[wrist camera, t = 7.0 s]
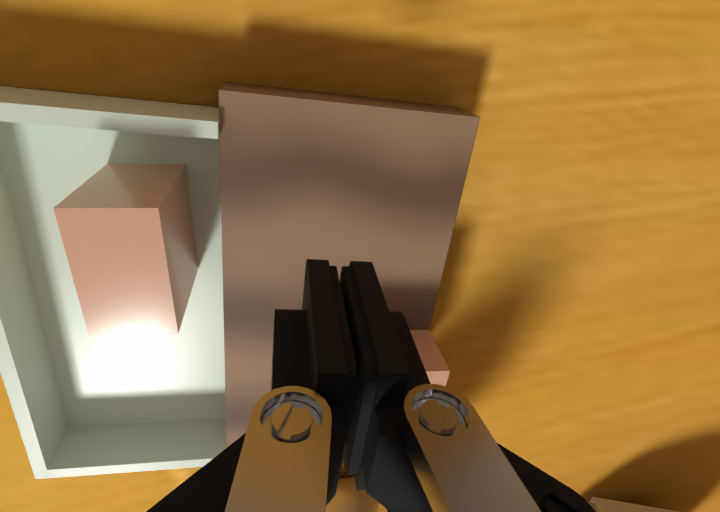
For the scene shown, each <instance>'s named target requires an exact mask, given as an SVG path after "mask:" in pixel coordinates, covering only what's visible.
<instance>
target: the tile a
mask: <svg viewBox="0 0 720 512" xmlns="http://www.w3.org/2000/svg"><path fill="white" fill-rule="evenodd" d="M53 209H54V213H55V216H56V220H57V224H58V227H59V231H60V234H61V238H62V241H63V245H64V249H65V252H66V256H67V259H68V263H69V267H70V270H71V274H72V277H73V281H74V285H75V288H76V292H77V295H78V299H79V302H80V306H81V310H82V313H83V317H84V320H85V324H86V328H87V331H88V335H89V338H90V339H94V338H112V337H130V336H149V335H167V334H178V333H179V330H180V327H181V323H182V320H183V317H184V314H185V310H186V307H187V304H188V301H189V297H190V294H191V291H192V287H193V284H194V281H195V278H196V274H197V271H198V261H197V253H196V245H195V237H194V228H193V220H192V212H191V204H190V195H189V187H188V179H187V171H186V164H128V163H107V164H106V165H105V166H104V167H102V168H101V169H100V170H99V171H98V172H96V173H95V174H94V175H93V176H92V177H90V178H89V179H88V180H87V181H86V182H84V183H83V184H82V185H81V186H79V187H78V188H77V189H76V190H75V191H73V192H72V193H71V194H70V195H69V196H67V197H66V198H65V199H64V200H63V201H61V202H60V203H59V204H58V205H57V206H55V207H54V208H53Z"/></svg>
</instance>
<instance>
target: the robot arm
mask: <svg viewBox="0 0 720 512" xmlns="http://www.w3.org/2000/svg"><path fill="white" fill-rule="evenodd" d="M343 458H344V466H345V472H346V474H347V475H354V478H355V485H356V491H357V490H366V493H367V494H369V495H370V496H371V497H372V498H374V499H375V500H376V501H377V502H378V511H379V512H679V511H673V510H667V509H661V508H655V507H650V506H644V505H638V504H632V503H626V502H621V501H615V500H609V499H603V498H597V497H592V498H591V500H590V501H589V502H587V501H586V500H585V499H584V498H583V497H582V496H580V495H579V494H578V493H576V492H575V491H574V490H572V489H571V488H569V487H568V486H566V485H564V484H563V483H561V482H560V481H558V480H556V479H555V478H553V477H551V476H550V475H548V474H547V473H545V472H543V471H542V470H540V469H538V468H537V467H535V466H534V465H532V464H530V463H529V462H527V461H525V460H524V459H522V458H521V457H519V456H517V455H516V454H514V453H512V452H511V451H509V450H508V449H506V448H504V447H503V446H501V445H500V444H498V443H496V441H495V440H494V438H493V437H492V435H491V434H490V432H489V430H488V429H487V427H486V426H485V424H484V423H483V421H482V420H481V418H480V417H479V415H478V414H477V412H476V410H475V409H474V407H473V406H472V405H471V404H470V402H469V401H468V400H467V399H466V398H465V397H464V396H462V395H461V394H460V393H458V392H457V391H455V390H453V389H451V388H449V387H447V386H442V385H438V384H431V383H430V381H429V378H428V376H427V373H426V370H425V368H424V365H423V363H422V360H421V358H420V355H419V352H418V350H417V347H416V345H415V342H414V340H413V337H412V334H411V332H410V329H409V327H408V324H407V321H406V319H405V316H404V315H403V313H402V312H397V311H389V309H388V306H387V303H386V301H385V298H384V295H383V292H382V289H381V286H380V283H379V280H378V277H377V274H376V271H375V269H374V266H373V263H372V262H365V261H350V263H349V266H342V268H341V274H340V281H339V276H338V271H337V267H336V266H329V261H328V260H318V259H307V260H306V267H305V279H304V290H303V302H302V310H295V309H275V313H274V332H273V354H272V380H271V391H270V392H268V393H266V394H264V395H263V396H262V397H261V398H260V399H259V400H258V401H257V402H256V404H255V406H254V409H253V411H252V413H251V417H250V421H249V424H248V428H247V432H246V433H245V434H243V435H242V436H241V437H240V438H238V439H237V440H236V441H235V442H233V443H232V444H231V445H230V446H228V447H227V448H226V449H225V450H223V451H222V452H221V453H220V454H218V455H217V456H216V457H215V458H213V459H212V460H211V461H210V462H208V463H207V464H206V465H205V466H203V467H202V468H201V469H199V470H198V471H197V472H196V473H194V474H193V475H192V476H191V477H189V478H188V479H187V480H186V481H184V482H183V483H182V484H181V485H179V486H178V487H177V488H176V489H174V490H173V491H172V492H171V493H169V494H168V495H167V496H166V497H164V498H163V499H162V500H161V501H159V502H158V503H157V504H155V505H154V506H153V507H152V508H150V509H149V510H148V511H147V512H326V506H327V504H328V503H329V502H330V501H331V500H332V499H333V497H334V496H335V495H336V490H337V485H338V479H339V475H340V471H341V465H342V460H343Z"/></svg>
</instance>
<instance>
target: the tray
mask: <svg viewBox="0 0 720 512" xmlns="http://www.w3.org/2000/svg"><path fill="white" fill-rule="evenodd" d="M107 163H128V164H186V171H187V179H188V187H189V195H190V204H191V212H192V220H193V228H194V237H195V245H196V253H197V261H198V271H197V274H196V278H195V281H194V284H193V287H192V291H191V294H190V297H189V301H188V304H187V307H186V310H185V314H184V317H183V320H182V323H181V327H180V330H179V333H178V334H167V335H149V336H130V337H112V338H94V339H90V338H89V335H88V331H87V328H86V324H85V320H84V317H83V313H82V310H81V306H80V302H79V299H78V295H77V292H76V288H75V285H74V281H73V277H72V274H71V270H70V267H69V263H68V259H67V256H66V252H65V249H64V245H63V241H62V238H61V234H60V231H59V227H58V224H57V220H56V216H55V213H54V209H53V208H54V207H55V206H57V205H58V204H59V203H60V202H61V201H63V200H64V199H65V198H66V197H67V196H69V195H70V194H71V193H72V192H73V191H75V190H76V189H77V188H78V187H79V186H81V185H82V184H83V183H84V182H86V181H87V180H88V179H89V178H90V177H92V176H93V175H94V174H95V173H96V172H98V171H99V170H100V169H101V168H102V167H104V166H105V165H106V164H107ZM0 372H1V375H2V378H3V381H4V384H5V387H6V390H7V393H8V397H9V400H10V403H11V406H12V409H13V412H14V415H15V418H16V421H17V424H18V427H19V430H20V433H21V436H22V439H23V442H24V445H25V448H26V451H27V454H28V458H29V461H30V464H31V467H32V470H33V473H34V476H35V479H43V478H57V477H70V476H84V475H98V474H111V473H125V472H139V471H152V470H166V469H180V468H193V467H203V466H205V465H206V464H207V463H208V462H210V461H211V460H212V459H213V458H215V457H216V456H217V455H218V454H220V453H221V452H222V451H223V450H225V449H226V448H227V447H228V444H227V442H226V398H225V355H224V311H223V267H222V223H221V179H220V135H219V107H211V106H201V105H191V104H180V103H170V102H160V101H149V100H139V99H129V98H119V97H108V96H98V95H88V94H77V93H67V92H57V91H47V90H36V89H26V88H16V87H5V86H0Z"/></svg>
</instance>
